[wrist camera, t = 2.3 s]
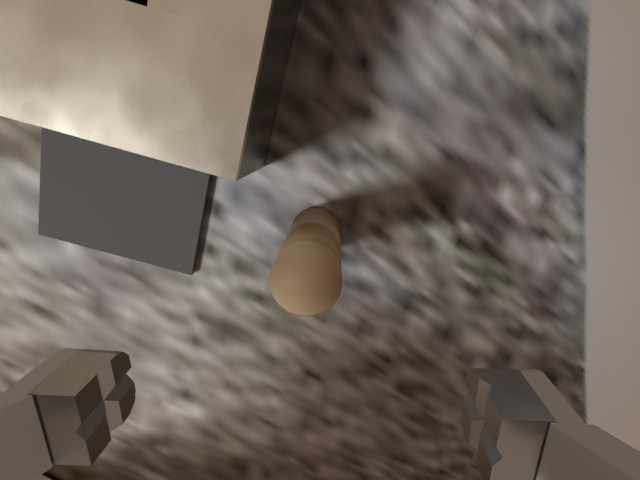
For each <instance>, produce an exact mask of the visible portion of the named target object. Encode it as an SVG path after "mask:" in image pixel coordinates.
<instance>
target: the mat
mask: <svg viewBox="0 0 640 480" xmlns="http://www.w3.org/2000/svg"><path fill="white" fill-rule="evenodd" d="M210 180H211V174H208V173H204V172H201V171H197V170H194V169H190V168H186V167H183V166H179V165H176V164H172V163H169V162H165V161H161V160H158V159H154V158H151V157H147V156H143V155H140V154H136V153H133V152H129V151H126V150H122V149H118V148H115V147H111V146H108V145H104V144H101V143H97V142H93V141H90V140H86V139H83V138H79V137H76V136H72V135H68V134H65V133H61V132H58V131H54V130H50V129H47V128H43V127H42V141H41V171H40V202H39V232H38V234H40V235H44V236H48V237H51V238H55V239H59V240H63V241H66V242H70V243H74V244H78V245H81V246H85V247H89V248H93V249H96V250H100V251H104V252H107V253H111V254H115V255H119V256H122V257H126V258H130V259H134V260H137V261H141V262H145V263H149V264H152V265H156V266H160V267H163V268H167V269H171V270H175V271H178V272H182V273H186V274H190V275H192V274H193V273H194V269H195V264H196V258H197V252H198V247H199V241H200V236H201V230H202V224H203V219H204V213H205V208H206V202H207V197H208V191H209V185H210Z"/></svg>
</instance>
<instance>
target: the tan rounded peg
mask: <svg viewBox="0 0 640 480" xmlns="http://www.w3.org/2000/svg"><path fill="white" fill-rule="evenodd" d="M269 285H270V290H271V293H272V295H273V297H274V299H275V300H276V301H277V303H278V304H279V305H280V306H281V307H283V308H284V309H286V310H287V311H289V312H291V313H294V314H297V315H304V316H310V315H316V314H319V313H322V312H324V311H326V310H327V309H329V308H330V307H331V306H332V305H333V304H334V303H335V302H336V301H337V299H338V297H339V295H340V292H341V288H342V274H341V247H340V226H339V223H338V221H337V219H336V217H335V216H334V215H333V214H332V213H331V212H330V211H328V210H326V209H324V208H320V207H312V208H308V209H305V210H303V211H302V212H300V213H299V214H298V215H297V217H296V218H295V220H294V222H293V224H292V226H291V228H290V231H289V233H288V235H287V237H286V239H285V241H284V244H283V246H282V248H281V250H280V252H279V254H278V256H277V259H276V261H275V263H274V265H273V267H272V269H271V272H270V277H269Z"/></svg>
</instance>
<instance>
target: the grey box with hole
mask: <svg viewBox="0 0 640 480" xmlns="http://www.w3.org/2000/svg"><path fill="white" fill-rule="evenodd" d="M300 5H301V0H148V2H147V6H144V5H140V4H137V3H134V2H130V1H127V0H0V116H4V117H8V118H11V119H15V120H18V121H22V122H25V123H29V124H33V125H36V126H40V127H43V128H47V129H50V130H54V131H58V132H61V133H65V134H68V135H72V136H76V137H79V138H83V139H86V140H90V141H93V142H97V143H101V144H104V145H108V146H111V147H115V148H118V149H122V150H126V151H129V152H133V153H136V154H140V155H143V156H147V157H151V158H154V159H158V160H161V161H165V162H169V163H172V164H176V165H179V166H183V167H186V168H190V169H194V170H197V171H201V172H204V173H208V174H211V175H215V176H219V177H222V178H226V179H229V180H233V181H237V180H239V179H241V178H243V177H245V176H247V175H248V174H250V173H252V172H254V171H256V170H258V169H260V168H262V167H264V166H265V162H266V157H267V153H268V148H269V144H270V139H271V135H272V130H273V126H274V121H275V117H276V112H277V108H278V103H279V99H280V94H281V90H282V85H283V81H284V76H285V72H286V67H287V63H288V58H289V54H290V49H291V45H292V40H293V36H294V32H295V27H296V23H297V18H298V14H299V9H300Z"/></svg>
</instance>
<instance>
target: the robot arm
mask: <svg viewBox="0 0 640 480" xmlns="http://www.w3.org/2000/svg"><path fill="white" fill-rule="evenodd" d="M130 368H131V363H130V359H129V355H128V354H126V353H124V352H119V351H104V350H89V349H85V350H84V349H70V348H66V349H61V350H58V351H57V352H55V353H54V354H53V355H51V356H50V357H49V358H47V359H46V360H45V361H44V362H42V363H41V364H40V365H38V366H37V367H36V368H34V369H33V370H32V371H31V372H29V373H28V374H27V375H25V376H24V377H23V378H22V379H20V380H19V381H18V382H16V383H15V384H14V385H12V386H11V387H10V388H9V389H7V390H6V391H5V392H3V393H0V480H52V479H50V478H48V477H46V476H43V475H42V474H43V473H45V472H46V471H48V470H49V469H50V468H52V467H53V465H80V466H92V465H93V463H94V462H95V461H96V459H97V458H98V457H99V455H100V454H101V453H102V451H103V450H104V449H105V447H106V446H107V445H108V443H109V442H110V441H111V431H112V430H114V429H115V428H117V427H119V426H120V425H122V424H123V423H124V422H125V420H126V419H127V417H128V416H129V415H130V413H131V410H132V407H133V405H134V402H135V392H136V390H135V384H134V382H133V380H132V379H131V378H130V377H129V376H128V375H127V373H128V371H129V370H130ZM465 383H466V385H467V387H468V390H469V393H468V394H467V395H466V396H465V397H464V398H463V401H462V410H461V413H462V425H463V429H464V433H465V436H466V439H467V441H468V444H470V445H471V446H472V447H473V448H474V449H475V450H476V451H477V456H476V464H477V467H478V469H479V471H480V474H481V476H482V479H483V480H640V452H639V451H637V450H636V449H634V448H632V447H631V446H629V445H627V444H626V443H624V442H622V441H620V440H619V439H617V438H615V437H614V436H612V435H610V434H609V433H607V432H605V431H604V430H602V429H600V428H598V427H597V426H595V425H586V424H585V422H584V421H583V420H582V419H581V418H580V416H579V415H578V414H577V413H576V411H575V410H574V409H573V408H572V407H571V405H570V404H569V403H568V402H567V401H566V399H565V398H564V397H563V396H562V395H561V393H560V392H559V391H558V390H557V388H556V387H555V386H554V385H553V384H552V382H551V381H550V380H549V379H548V378H547V376H546V375H545V374H544V373H543V372H542V371H540V370H538V369H514V370H511V369H484V368H469V370H468V372H467V376H466V382H465Z"/></svg>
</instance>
